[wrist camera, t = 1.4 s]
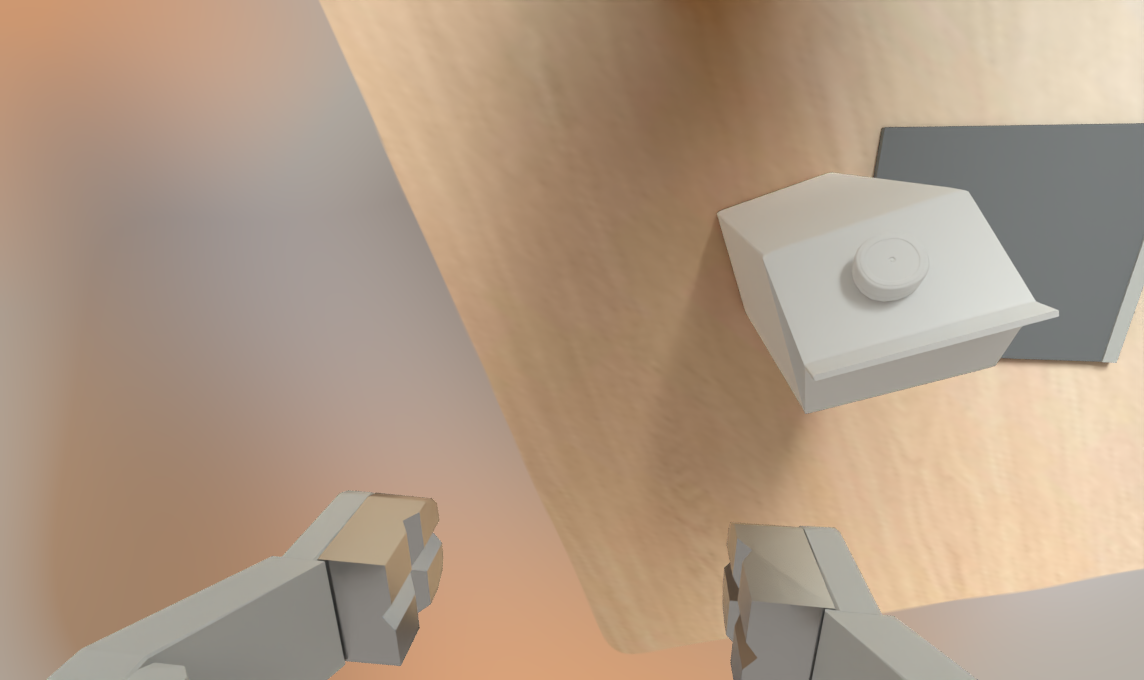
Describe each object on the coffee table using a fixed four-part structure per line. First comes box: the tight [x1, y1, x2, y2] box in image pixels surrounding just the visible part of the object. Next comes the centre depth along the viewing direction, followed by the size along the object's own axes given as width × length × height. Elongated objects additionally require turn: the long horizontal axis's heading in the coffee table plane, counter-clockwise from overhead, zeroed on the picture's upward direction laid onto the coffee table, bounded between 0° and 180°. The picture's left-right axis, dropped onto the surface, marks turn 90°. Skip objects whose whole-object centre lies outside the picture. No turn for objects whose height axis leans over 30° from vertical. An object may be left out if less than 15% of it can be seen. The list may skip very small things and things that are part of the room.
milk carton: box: [717, 173, 1059, 414], centre depth 26 cm, size 7×7×19 cm
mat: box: [874, 123, 1144, 363], centre depth 33 cm, size 14×16×1 cm
